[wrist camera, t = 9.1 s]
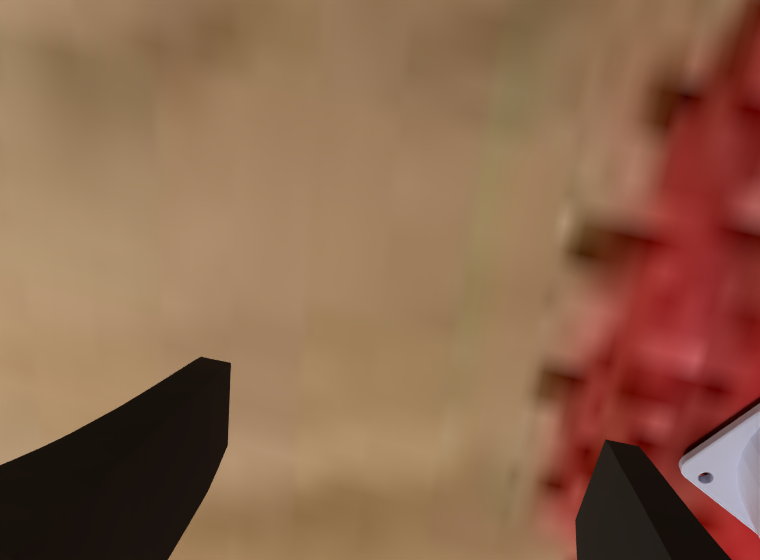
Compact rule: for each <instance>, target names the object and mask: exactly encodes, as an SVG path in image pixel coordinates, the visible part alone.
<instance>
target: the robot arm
mask: <svg viewBox="0 0 760 560" xmlns="http://www.w3.org/2000/svg"><path fill="white" fill-rule="evenodd" d="M230 372H231V363H228V362H223V361H219V360H214V359H209V358H204V357H200V358H198V359H196V360H195V361H193V362H191V363H190V364H188V365H187V366H185V367H183V368H182V369H180V370H179V371H177V372H175V373H174V374H172V375H171V376H169V377H167V378H166V379H164V380H163V381H161V382H159V383H158V384H156V385H155V386H153V387H151V388H150V389H148V390H147V391H145V392H143V393H142V394H140V395H138V396H137V397H135V398H133V399H132V400H130V401H128V402H127V403H125V404H123V405H122V406H120V407H118V408H117V409H115V410H113V411H111V412H109V413H107V414H106V415H104V416H102V417H100V418H98V419H96V420H95V421H93V422H91V423H89V424H87V425H85V426H83V427H82V428H80V429H78V430H76V431H74V432H72V433H71V434H68V435H66V436H64V437H62V438H60V439H58V440H56V441H54V442H52V443H50V444H48V445H46V446H44V447H41V448H39V449H37V450H35V451H32V452H30V453H28V454H26V455H23V456H21V457H19V458H16V459H14V460H12V461H9V462H7V463H4V464H2V465H0V560H168V558H169V557H170V555H171V553H172V552H173V550H174V548H175V547H176V545H177V543H178V541H179V540H180V538H181V536H182V535H183V533H184V531H185V530H186V528H187V526H188V525H189V523H190V521H191V519H192V518H193V516H194V514H195V513H196V511H197V509H198V507H199V506H200V504H201V502H202V501H203V499H204V497H205V495H206V494H207V492H208V490H209V488H210V485H211V483H212V481H213V479H214V476H215V474H216V472H217V470H218V467H219V465H220V462H221V460H222V458H223V455H224V453H225V450H226V448H227V446H228V423H229V397H230ZM679 468H680V470H681V473H682V474H683V476H684V477H685V478H687V479H688V480H689V481H690V482H692V483H693V484H694V485H695V486H697V487H698V488H699V489H701V490H702V491H703V492H704V493H706V494H707V495H708V496H709V497H711V498H712V499H713V500H715V501H716V502H717V503H718V504H720V505H721V506H722V507H723V508H725V509H726V510H727V511H728V512H730V513H731V514H732V515H734V516H735V517H736V518H737V519H739V520H740V521H741V522H742V523H744V524H745V525H746V526H747V527H749V528H750V529H751V530H753V531H754V532H755V533H756V534H758V536H759V538H760V403H759V404H758V405H756V406H755V407H754V408H752V409H751V410H749V411H748V412H746V413H745V414H744V415H742V416H741V417H739V418H738V419H736V420H735V421H733V422H732V423H731V424H729V425H728V426H726V427H725V428H723V429H722V430H720V431H719V432H718V433H716V434H715V435H713V436H712V437H710V438H709V439H708V440H706V441H705V442H703V443H702V444H700V445H699V446H697V447H696V448H695V449H693V450H692V451H690V452H689V453H687V454H686V455H685V456H683V457H682V458H681V459H680V462H679ZM704 472H709V474H708V475H705V476H699V475H700V474H702V473H704ZM575 521H576V545H577V560H731V559H730V557H729V556H728V555H727V554H726V553H725V552H724V551H723V549H722V548H721V547H720V546H719V545H718V544H717V542H716V541H715V540H714V539H713V538H712V537H711V535H710V534H709V533H708V532H707V531H706V529H705V528H704V527H703V526H702V525H701V523H700V522H699V521H698V520H697V519H696V517H695V516H694V515H693V514H692V512H691V511H690V510H689V509H688V507H687V506H686V505H685V504H684V502H683V501H682V500H681V499H680V497H679V496H678V495H677V494H676V492H675V491H674V490H673V488H672V487H671V486H670V485H669V483H668V482H667V481H666V480H665V478H664V477H663V476H662V474H661V473H660V472H659V471H658V469H657V468H656V467H655V466H654V464H653V463H652V462H651V460H650V459H649V458H648V457H647V456H646V454H645V453H644V452H643V451H642V450H641V448H640V447H639V446H634V445H629V444H625V443H620V442H615V441H610V440H605V442H604V445H603V448H602V450H601V453H600V456H599V458H598V461H597V464H596V466H595V469H594V472H593V474H592V477H591V480H590V482H589V485H588V488H587V490H586V493H585V496H584V498H583V501H582V504H581V507H580V509H579V512H578V515H577V517H576V520H575Z"/></svg>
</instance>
